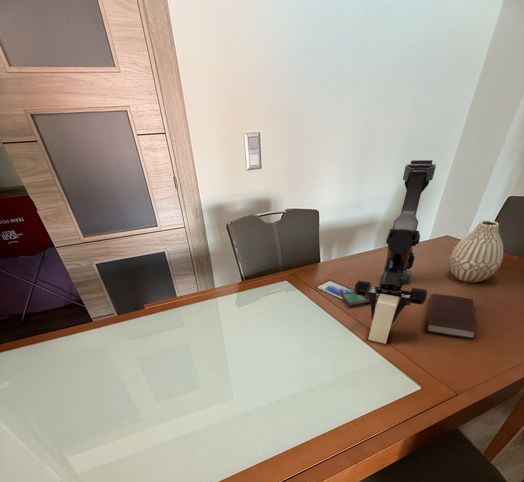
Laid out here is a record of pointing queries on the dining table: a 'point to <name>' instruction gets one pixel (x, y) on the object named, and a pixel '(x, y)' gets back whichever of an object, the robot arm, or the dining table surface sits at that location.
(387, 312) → the letter I
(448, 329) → the book
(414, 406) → the dining table surface
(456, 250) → the vase
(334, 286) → the smartphone
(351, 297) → the word board
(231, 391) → the dining table surface
